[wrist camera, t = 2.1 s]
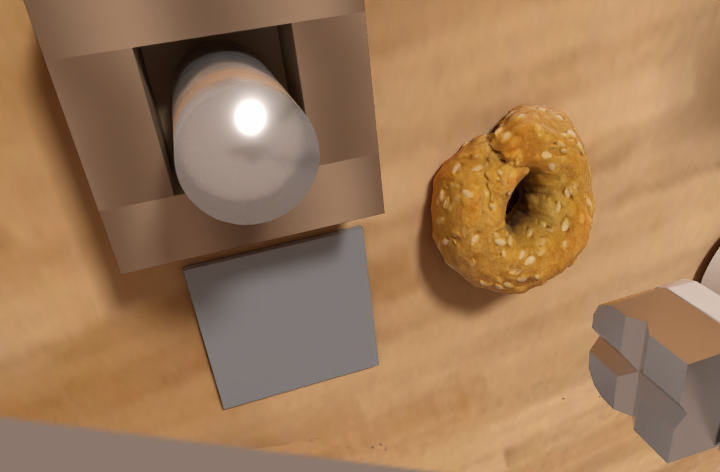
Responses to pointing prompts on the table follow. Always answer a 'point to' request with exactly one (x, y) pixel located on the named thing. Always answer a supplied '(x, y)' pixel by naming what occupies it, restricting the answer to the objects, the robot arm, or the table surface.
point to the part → (239, 136)
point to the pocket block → (155, 122)
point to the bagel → (531, 212)
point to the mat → (285, 315)
